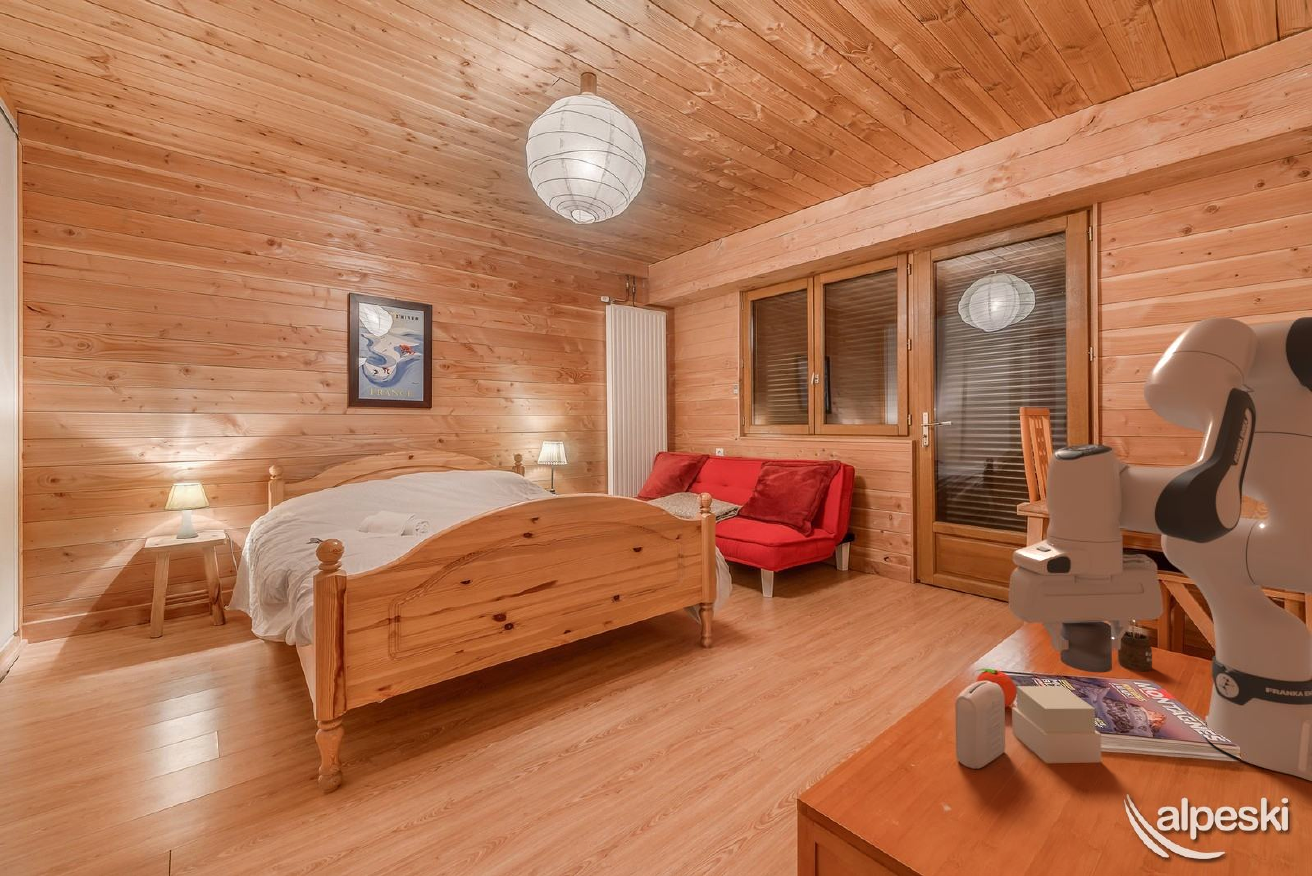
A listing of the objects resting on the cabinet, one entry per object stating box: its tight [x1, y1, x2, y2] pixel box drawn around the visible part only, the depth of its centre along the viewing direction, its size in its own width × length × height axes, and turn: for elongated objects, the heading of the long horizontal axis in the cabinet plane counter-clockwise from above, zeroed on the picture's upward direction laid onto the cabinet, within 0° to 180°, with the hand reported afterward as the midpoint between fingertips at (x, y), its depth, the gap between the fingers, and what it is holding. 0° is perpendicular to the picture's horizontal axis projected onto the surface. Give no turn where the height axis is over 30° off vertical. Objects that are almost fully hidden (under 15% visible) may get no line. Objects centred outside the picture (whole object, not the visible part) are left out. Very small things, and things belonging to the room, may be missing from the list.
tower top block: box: [1016, 685, 1096, 732], centre depth 97 cm, size 8×8×4 cm
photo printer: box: [954, 681, 1006, 770], centre depth 95 cm, size 10×4×12 cm, turn 123°
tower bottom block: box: [1011, 706, 1102, 764], centre depth 97 cm, size 9×9×5 cm
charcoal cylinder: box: [1059, 621, 1113, 674], centre depth 82 cm, size 6×6×6 cm
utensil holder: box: [1117, 620, 1153, 672], centre depth 127 cm, size 6×6×12 cm
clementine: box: [972, 668, 1017, 708], centre depth 112 cm, size 8×7×7 cm
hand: (1085, 649), depth 82 cm, fingers closed on charcoal cylinder, 6 cm apart
